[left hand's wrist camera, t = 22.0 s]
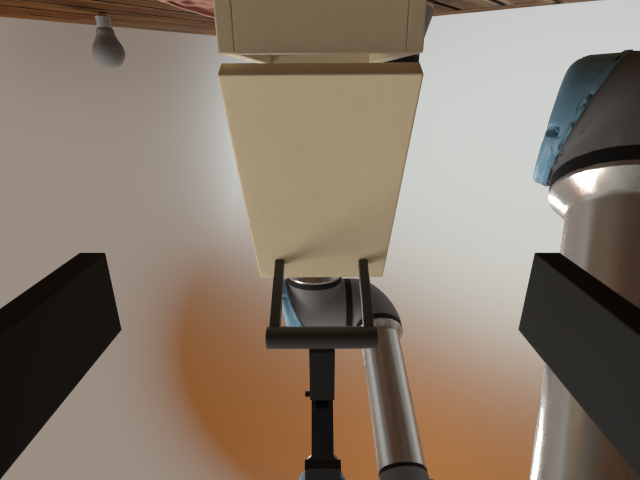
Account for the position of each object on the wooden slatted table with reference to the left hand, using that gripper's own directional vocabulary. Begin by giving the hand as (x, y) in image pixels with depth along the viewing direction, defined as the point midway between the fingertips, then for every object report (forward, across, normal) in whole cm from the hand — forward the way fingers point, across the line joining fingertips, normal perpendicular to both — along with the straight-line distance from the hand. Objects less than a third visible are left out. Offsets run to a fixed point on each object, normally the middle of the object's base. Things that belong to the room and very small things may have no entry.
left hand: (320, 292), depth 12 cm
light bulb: (+80, +44, -19) cm, 93 cm away
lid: (+15, 0, +1) cm, 15 cm away
